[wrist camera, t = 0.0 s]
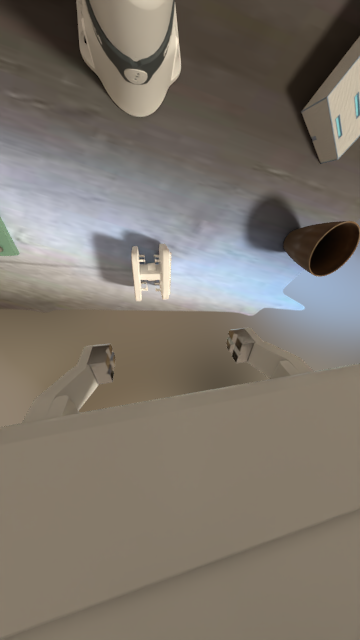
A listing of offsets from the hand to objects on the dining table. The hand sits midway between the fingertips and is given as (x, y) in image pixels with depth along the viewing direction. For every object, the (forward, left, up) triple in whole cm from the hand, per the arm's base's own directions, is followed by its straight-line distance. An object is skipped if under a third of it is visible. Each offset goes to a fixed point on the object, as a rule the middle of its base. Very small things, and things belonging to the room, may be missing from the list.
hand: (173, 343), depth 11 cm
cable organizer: (+9, 0, -48) cm, 49 cm away
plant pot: (+2, +52, -48) cm, 71 cm away
